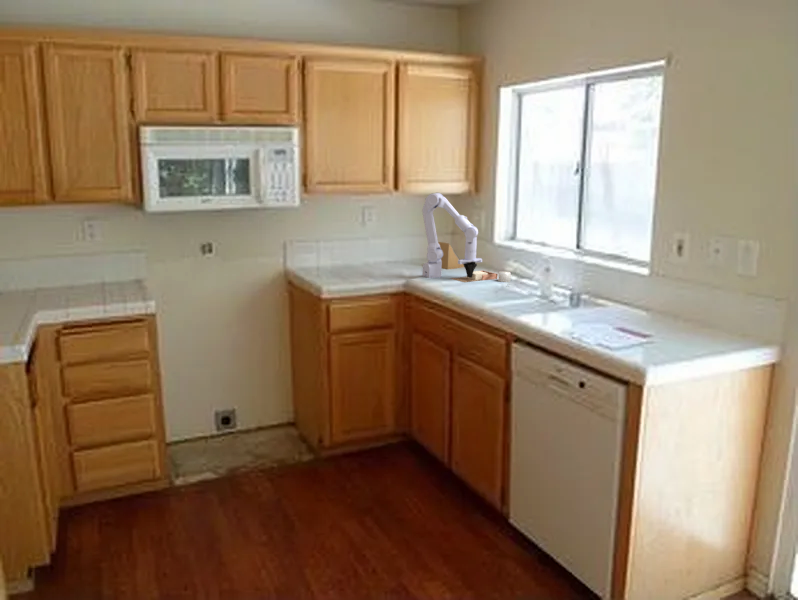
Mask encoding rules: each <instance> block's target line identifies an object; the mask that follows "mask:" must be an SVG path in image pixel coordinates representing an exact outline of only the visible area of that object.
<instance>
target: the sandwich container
mask: <svg viewBox="0 0 798 600" xmlns="http://www.w3.org/2000/svg"><path fill="white" fill-rule="evenodd" d="M438 243H439V245H440V248H441V250H442V251H443V257H442V258H441V261H442V270H453V269H462V268H465V267H464V265H463V264H458V260H461V259H460V258H459V256H458V255H457V253H456V252H455V250H454V249H453V247H452V246H451V244H450V243H449V242H443V241H438Z"/></svg>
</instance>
